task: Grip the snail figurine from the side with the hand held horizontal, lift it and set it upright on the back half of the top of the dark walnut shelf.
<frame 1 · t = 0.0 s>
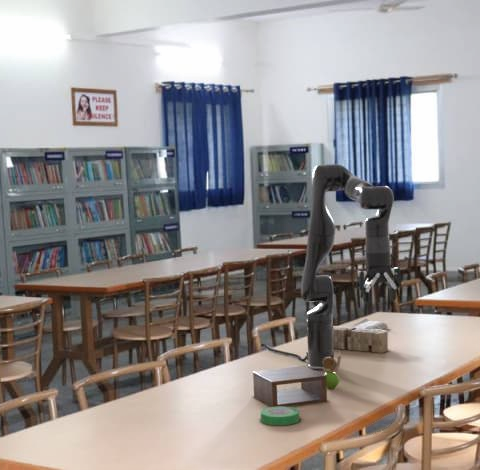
hand: (379, 302, 291), 29 cm above the table, tool pointing down, fingers open, 8 cm apart
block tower: (352, 348, 367), on the table
shelf: (289, 399, 294), on the table
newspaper: (358, 334, 396), on the table
tape roll: (280, 420, 270), on the table
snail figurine: (332, 388, 305), on the table
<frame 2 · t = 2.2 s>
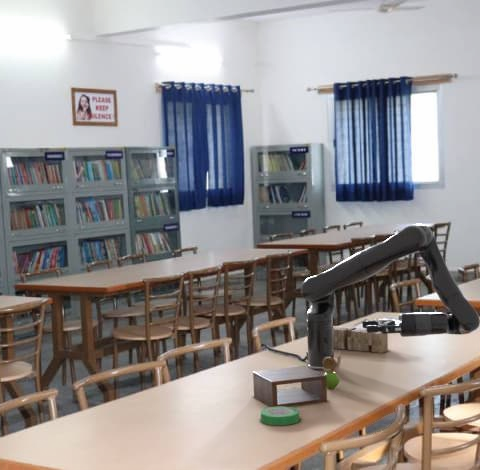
hand: (364, 326, 303), 20 cm above the table, tool horizontal, fingers open, 8 cm apart
nothing on the table moved.
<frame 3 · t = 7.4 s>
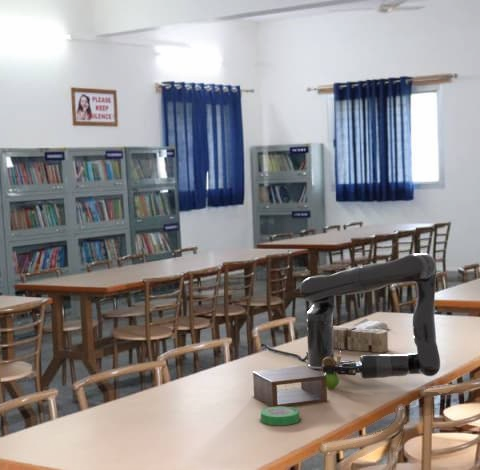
hand: (322, 368, 305), 7 cm above the table, tool horizontal, fingers closed on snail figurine
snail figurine: (332, 388, 305), on the table, touching gripper
everything else where it was.
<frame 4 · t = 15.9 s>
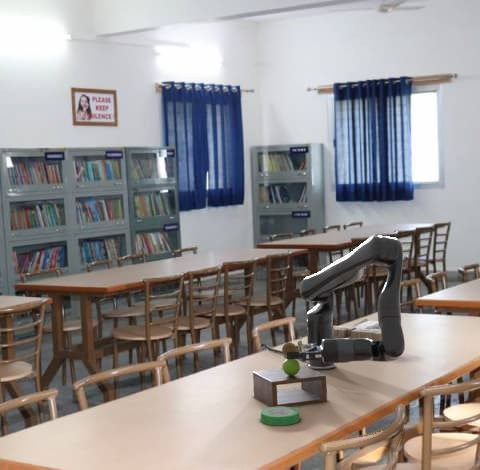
hand: (285, 352, 290), 15 cm above the table, tool horizontal, fingers open, 8 cm apart
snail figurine: (293, 376, 290), point 8 cm above the table, touching shelf
everything else where it was.
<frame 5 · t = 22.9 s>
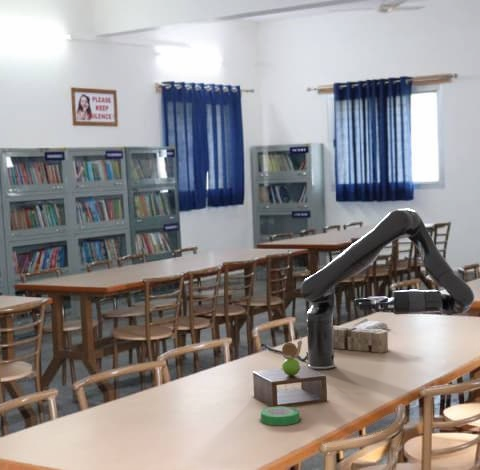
hand: (357, 304, 298), 28 cm above the table, tool horizontal, fingers open, 8 cm apart
nothing on the table moved.
at the end: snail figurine inside the target area on the shelf (0.5 cm from its centre), point 8.0 cm above the shelf's base; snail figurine tilted 0°; the gripper is holding nothing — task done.
